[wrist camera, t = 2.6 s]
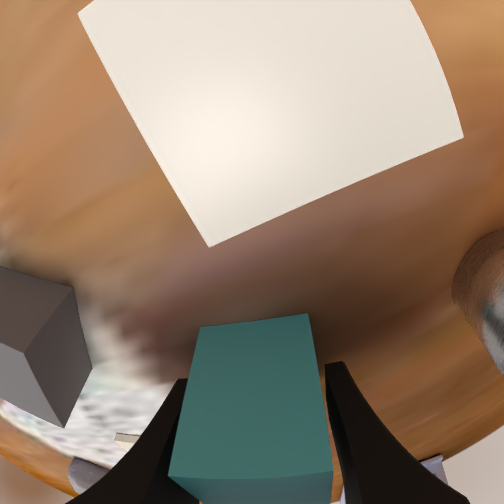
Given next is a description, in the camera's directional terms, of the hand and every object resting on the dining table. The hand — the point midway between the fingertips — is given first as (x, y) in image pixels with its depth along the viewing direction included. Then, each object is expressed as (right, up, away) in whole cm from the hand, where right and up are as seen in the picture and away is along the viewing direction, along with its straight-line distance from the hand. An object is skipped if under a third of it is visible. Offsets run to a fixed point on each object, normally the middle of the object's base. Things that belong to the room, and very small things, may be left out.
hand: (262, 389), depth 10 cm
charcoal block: (-10, +2, +1) cm, 11 cm away
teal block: (0, +1, +1) cm, 2 cm away
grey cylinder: (+9, +4, -1) cm, 10 cm away
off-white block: (0, +10, -3) cm, 10 cm away
